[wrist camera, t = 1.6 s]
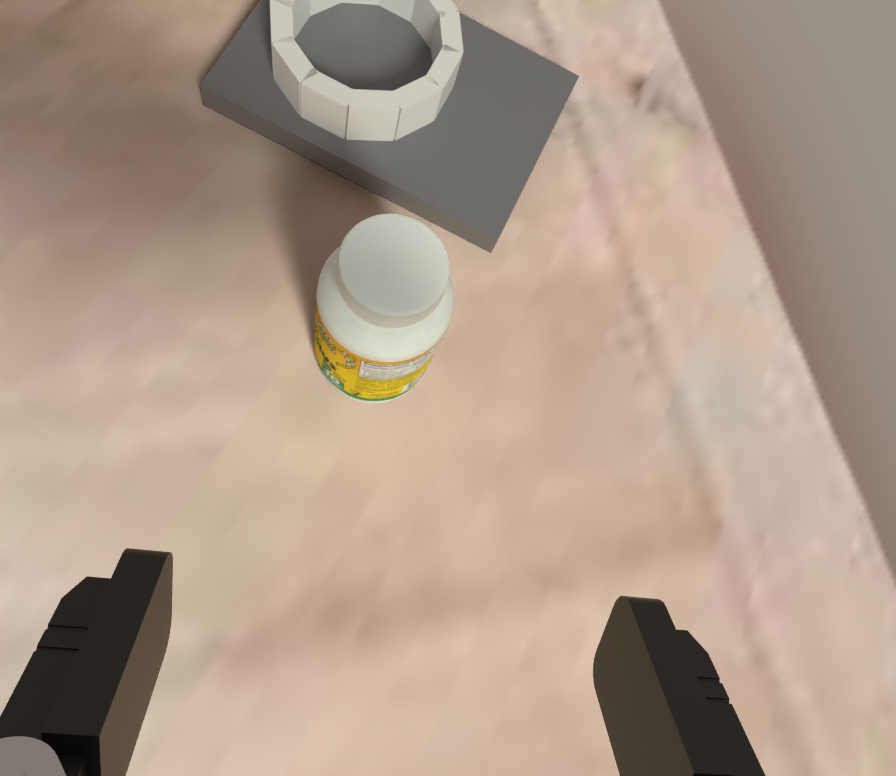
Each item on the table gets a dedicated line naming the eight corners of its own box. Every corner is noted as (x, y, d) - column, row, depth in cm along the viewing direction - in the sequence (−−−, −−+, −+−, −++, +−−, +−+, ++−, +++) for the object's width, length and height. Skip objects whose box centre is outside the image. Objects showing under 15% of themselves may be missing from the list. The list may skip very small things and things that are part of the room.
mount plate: (202, 104, 38) (192, 48, 34) (307, -45, 41) (308, -110, 37) (490, 252, 38) (511, 214, 35) (569, 93, 42) (596, 43, 38)
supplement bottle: (433, 401, 36) (478, 332, 27) (317, 409, 35) (324, 340, 26) (420, 294, 37) (459, 194, 28) (309, 299, 36) (312, 196, 27)
